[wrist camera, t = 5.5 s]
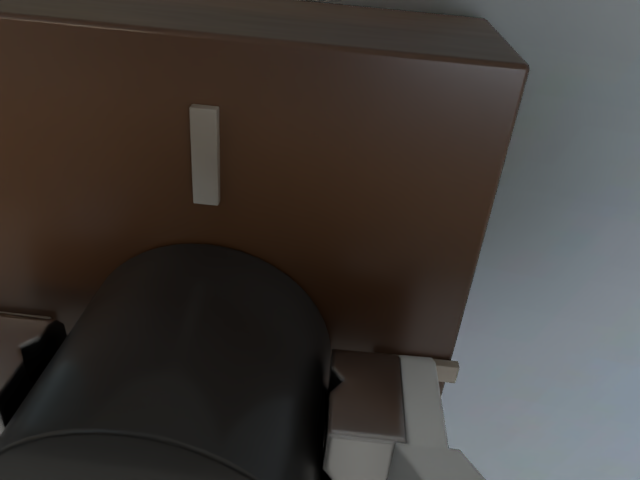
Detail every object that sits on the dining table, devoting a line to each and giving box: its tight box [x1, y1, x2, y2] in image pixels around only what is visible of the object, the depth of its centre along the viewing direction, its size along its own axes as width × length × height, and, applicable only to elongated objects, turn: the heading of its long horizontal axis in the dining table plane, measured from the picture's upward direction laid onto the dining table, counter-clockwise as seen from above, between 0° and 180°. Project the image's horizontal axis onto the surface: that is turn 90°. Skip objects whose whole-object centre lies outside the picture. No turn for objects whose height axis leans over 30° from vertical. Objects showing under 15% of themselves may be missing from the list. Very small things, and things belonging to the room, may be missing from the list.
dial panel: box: [0, 0, 529, 395], centre depth 11 cm, size 10×8×3 cm
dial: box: [0, 244, 331, 480], centre depth 8 cm, size 4×4×4 cm
